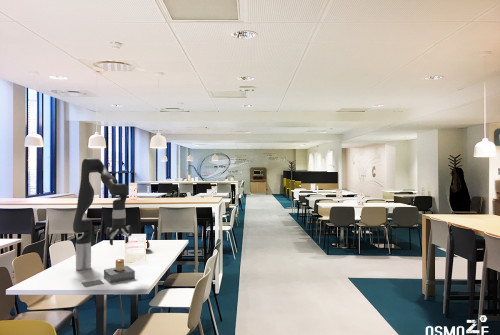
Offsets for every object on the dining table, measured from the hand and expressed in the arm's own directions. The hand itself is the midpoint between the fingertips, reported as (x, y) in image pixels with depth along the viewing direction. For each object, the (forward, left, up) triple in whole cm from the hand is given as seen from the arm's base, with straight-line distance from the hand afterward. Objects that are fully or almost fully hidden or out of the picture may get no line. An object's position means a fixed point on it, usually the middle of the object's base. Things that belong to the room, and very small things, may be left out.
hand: (119, 244), depth 214 cm
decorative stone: (-69, +39, -21) cm, 82 cm away
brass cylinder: (0, 0, -21) cm, 21 cm away
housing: (0, 0, -21) cm, 21 cm away
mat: (+1, -15, -21) cm, 26 cm away
